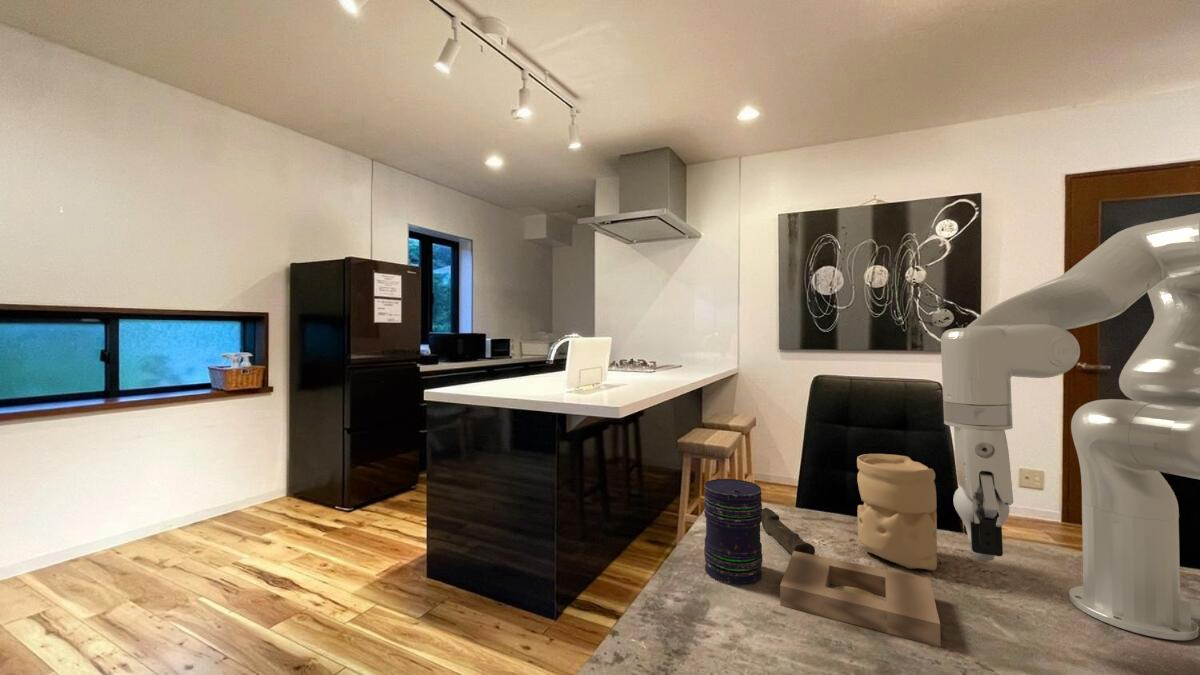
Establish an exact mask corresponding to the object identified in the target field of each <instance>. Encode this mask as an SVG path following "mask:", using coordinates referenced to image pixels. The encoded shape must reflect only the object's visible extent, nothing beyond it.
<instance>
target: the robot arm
mask: <svg viewBox="0 0 1200 675" xmlns="http://www.w3.org/2000/svg"><path fill="white" fill-rule="evenodd" d="M1146 293H1147V295H1148V299H1149V300H1150V304H1151V308H1152V310H1153V316H1154V318H1153V322H1152V324H1151V326H1150V328H1149V329H1148V331H1147V333H1146V334H1145V335H1144V337H1143V338H1142V340H1141V341H1140V342H1139V344H1138V345H1137V347H1136V348H1135V350H1134V351H1133V353H1132V354H1131V355H1130V357H1129V359H1128V360H1127V362H1126V363H1125V365H1124V366H1123V368H1122V370H1121V371H1120V372H1121V373H1119V378H1118V385H1119V389H1120V391H1121V392H1122V393H1123V394H1124V396H1126V397H1127V398H1128V399H1117V398H1115V399H1114V398H1109V399H1107V398H1106V399H1097V400H1093V401H1090V402H1087V403H1084V404H1083V405H1081V406H1080V407H1078V408H1077V409H1076V410H1075V412H1074V414H1073V415H1072V418H1071V423H1070V431H1071V436H1072V439H1073V443H1074V447H1075V451H1076V454H1077V458H1078V463H1079V469H1080V480H1081V521H1082V522H1081V523H1082V526H1081V529H1082V532H1081V533H1082V536H1081V537H1082V576H1083V578H1082V583H1083V584H1082V585H1079V586H1074V587H1072V588H1071V589H1069V592H1068V593H1069V594H1068V595H1069V600H1070V602H1071V603H1072V604H1073V605H1074V606H1075V607H1076V608H1077V609H1078V610H1080V611H1081V612H1083V613H1085V614H1087V615H1088V616H1091V617H1092V618H1095V619H1097V620H1099V621H1101V622H1103V623H1106V624H1108V625H1110V626H1114V627H1116V628H1118V629H1119V628H1120V629H1122V630H1124V631H1125V630H1126V631H1129V632H1132V633H1135V634H1139V635H1143V636H1147V637H1151V638H1155V639H1156V638H1157V639H1163V640H1170V641H1171V640H1172V641H1191V640H1195V639H1197V638H1198V637H1199V636H1200V627H1199V625H1198V623H1197V622H1200V600H1198V599H1193V598H1187V597H1186V596H1184V595H1183V594H1182V593H1181V579H1180V578H1181V576H1180V571H1181V570H1180V525H1179V524H1180V523H1179V522H1180V521H1179V519H1180V513H1179V510H1180V509H1179V503H1178V499H1177V497H1176V495H1175V492H1174V490H1173V489H1172V487H1171V485H1170V484H1169V483H1168V481H1167V480H1166V479H1165V477H1164V476H1163V475H1162V473H1163V474H1170V475H1174V476H1180V477H1186V478H1190V479H1196V480H1200V212H1197V213H1193V214H1186V215H1182V216H1177V217H1176V216H1175V217H1171V218H1165V219H1162V220H1155V221H1151V222H1145V223H1141V224H1137V225H1133V226H1130V227H1127V228H1125V229H1122V230H1120V231H1118V232H1116V233H1115V234H1113V235H1112V236H1111V237H1110V236H1109V238H1108V239H1107V240H1105V241H1104V242H1103V243H1101V244H1100V245H1098V246H1097V247H1096V248H1095V249H1094V250H1092V251H1091V252H1090V253H1089V254H1087V255H1086V256H1085V257H1084V258H1083V259H1081V260H1080V261H1078V262H1077V263H1075V265H1073V266H1072V267H1071V268H1069V269H1068V270H1067V271H1066V272H1065V273H1063V274H1062V275H1060V276H1059V277H1056V278H1054V279H1051V280H1049V281H1046V282H1044V283H1041V284H1039V285H1037V286H1035V287H1032V288H1031V289H1028V290H1026V291H1024V292H1021V293H1019V294H1016V295H1014V296H1012V297H1010V298H1008V299H1006V300H1004V301H1002V302H1000V303H997V304H996V305H994V306H992V307H991V308H989V309H987V310H986V311H985V312H983V313H982V314H981V315H979V316H978V317H976V319H974V320H973V321H971V323H969V324H968V325H967V326H966V327H957V328H956V327H955V328H950V329H947V330H945V331H944V332H942V334H941V336H940V352H941V353H940V354H941V359H940V360H941V377H942V379H941V380H942V402H943V406H942V407H943V424H944V425H946V426H949V427H953V430H954V431H953V432H954V433H953V435H954V437H953V438H954V455H955V456H954V458H955V459H954V460H955V470H956V476H957V478H956V479H957V483H958V486H959V487H960V486H961V488H962V490H963V492H964V495H965V497H966V498H967V499H969V500H970V501H971V503H972V513H973V522H972V521H970V522H971V545H972V550H973V552H975V553H981V554H987V555H994V557H1002V556H1003V554H1004V552H1003V551H1004V549H1003V525H1002V526H1001V521H1000V512H999V503H998V497H999V498H1000V500H1001V501H1002V502H1003V503H1005V504H1006V505H1009V507H1010V506H1011V505H1013V504H1014V492H1013V484H1012V481H1013V480H1012V472H1011V462H1010V454H1009V452H1010V451H1009V447H1008V446H1009V445H1008V440H1007V434H1006V431H1007V430H1008V431H1009V430H1012V429H1013V428H1014V427H1013V404H1012V377H1018V378H1033V379H1048V378H1054V377H1058V376H1062V375H1064V374H1065V373H1067V372H1068V371H1069V372H1070V370H1072V369H1073V368H1074V366H1075V365H1076V364H1077V363H1078V361H1079V359H1080V355H1081V348H1080V344H1079V342H1078V339H1077V338H1076V337H1075V336H1074V335H1073V334H1072V333H1071V332H1070V331H1068V330H1070V329H1077V328H1081V327H1085V326H1090V325H1093V324H1096V323H1101V322H1104V321H1107V320H1110V319H1113V318H1115V317H1117V316H1119V315H1121V314H1122V313H1124V312H1125V311H1127V309H1129V308H1130V307H1131V306H1132V305H1133V304H1134V303H1136V302H1137V301H1138V300H1139V299H1140V298H1142V297H1143V296H1144V295H1145V294H1146ZM979 482H980V483H979ZM975 492H976V494H975ZM997 492H998V494H999V495H998V494H997ZM975 495H978V496H982V498H983V500H977V499H976V496H975ZM978 505H983V508H980V510H978ZM978 511H979V512H978ZM962 522H963V521H962ZM963 532H964V534H965V536H968V535H967V530H966V527H965V525H964V522H963Z"/></svg>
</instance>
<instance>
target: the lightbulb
mask: <svg viewBox="0 0 1200 675" xmlns="http://www.w3.org/2000/svg"><path fill="white" fill-rule="evenodd" d="M979 483H980V482H979ZM975 494H976V492H975ZM997 494H998V492H997ZM998 495H999V494H998ZM975 496H976V499H977V500H983V498H982V496H978V495H975ZM952 501H953V506H954V508H955V511H956V513H957V514H958V516H959V517H960V520H962V522H964V523H963V526H964V525H965V527H966V530H967V535H966V536H967V539H968V542H969V545H970V546H969V547H970V553H971V556H973V557H974V558H976V559H977V560H978V561H979V562H980V563H981V562H982V563H988V562H990V561H993V560H995V556H994V555H987V554H981V553H975V552H973V550H972V545H971V522H970V521H972V522H973V513H972V503H971V501H970V500H969V499H967V498H966V497H965V495H964V492H963V490H962V488H961V486H959V487H958V488H957V489H956V490H955V491H954V494H953V500H952ZM998 503H999V512H1000V521H1001V526H1002V527H1003V525H1004V523H1005V522H1006V520H1008V518H1009V515H1010V506H1009V505H1006V504H1005V503H1003V502H1002V501H1001V500H1000V498H999V497H998ZM980 508H983V505H978V510H980ZM978 512H979V511H978Z"/></svg>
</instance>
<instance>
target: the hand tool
mask: <svg viewBox="0 0 1200 675" xmlns="http://www.w3.org/2000/svg"><path fill="white" fill-rule="evenodd" d="M761 513H762V521H761V526H762V528H763V530H764V531H765V533H766V535H767V534H768V535H767V536H770V535H772V536H771V537H773V538H774V539H775V541H776V542H778V543H779V544H780V545H781V546H782V547H783V548H784V549H785V550H786V551H787V552H788V553H789V554H790V555H791V556H792V553H793V551H797V552H802V553H807V554H812V555H815V554H816V549H815V546H814V545H812V544H811V543H809V542H806V541H804V540H803V538H801V537H800V535H799V534H798V533H796V532H794V531H793V530H791V529H790V528H789V527H788V526H787V525H785V524H784V523H783V522H782V521H781V520H780V516H779V515H778V514H777V513H776V512H775V511H774V510H772V509H770V508H768V507H765V508H762V512H761Z"/></svg>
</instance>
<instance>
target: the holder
mask: <svg viewBox="0 0 1200 675" xmlns="http://www.w3.org/2000/svg"><path fill="white" fill-rule="evenodd" d="M830 585H834V586H836V587H830ZM877 595H878V596H877ZM879 596H880V597H881V596H882V597H885V600H884V599H881V598H879ZM779 597H780V598H779V599H780V600H779V601H780V602H779V604H780V606H783V607H785V608H791V609H793V610H797V611H802V612H805V613H809V614H813V615H817V616H821V617H824V618H827V619H828V618H829V619H833V620H835V621H839V622H843V623H847V624H852V625H855V626H859V627H863V628H867V629H870V630H873V631H877V632H881V633H884V634H885V633H886V634H889V635H893V636H897V637H900V638H905V639H908V640H912V641H914V642H919V643H924V644H927V645H931V646H935V647H939V648H941V646H942V645H941V644H942V643H941V642H942V641H941V622H940V617H939V613H938V609H937V605H936V601H935V596H934V592H933V588H932V584H931V579H930V578H928V577H924V576H923V577H922V576H917V575H912V574H909V573H908V574H907V573H905V572H904V573H903V572H898V571H895V570H888V569H885V568H884V569H883V568H878V567H874V566H869V565H865V564H859V563H854V562H850V561H845V560H840V559H837V558H835V559H834V558H831V557H825V556H820V555H817V554H816V555H815V554H814V555H812V554H807V553H802V552H797V551H793V553H792V555H791V557H790V559H789V561H788V564H787V567H786V570H785V572H784V574H783V577H782V580H781V582H780V584H779Z"/></svg>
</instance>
